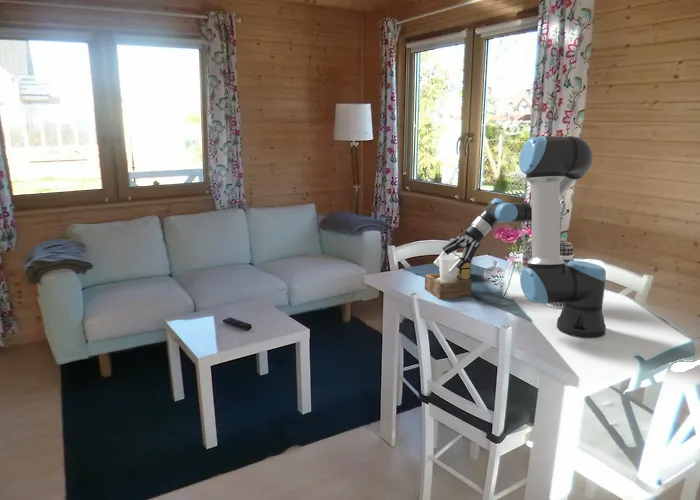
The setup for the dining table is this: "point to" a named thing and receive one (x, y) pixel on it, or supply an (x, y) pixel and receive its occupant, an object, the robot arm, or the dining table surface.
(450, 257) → the white cup
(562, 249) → the decorative candle
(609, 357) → the dining table surface
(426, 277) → the wooden box
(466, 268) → the puzzle cube
